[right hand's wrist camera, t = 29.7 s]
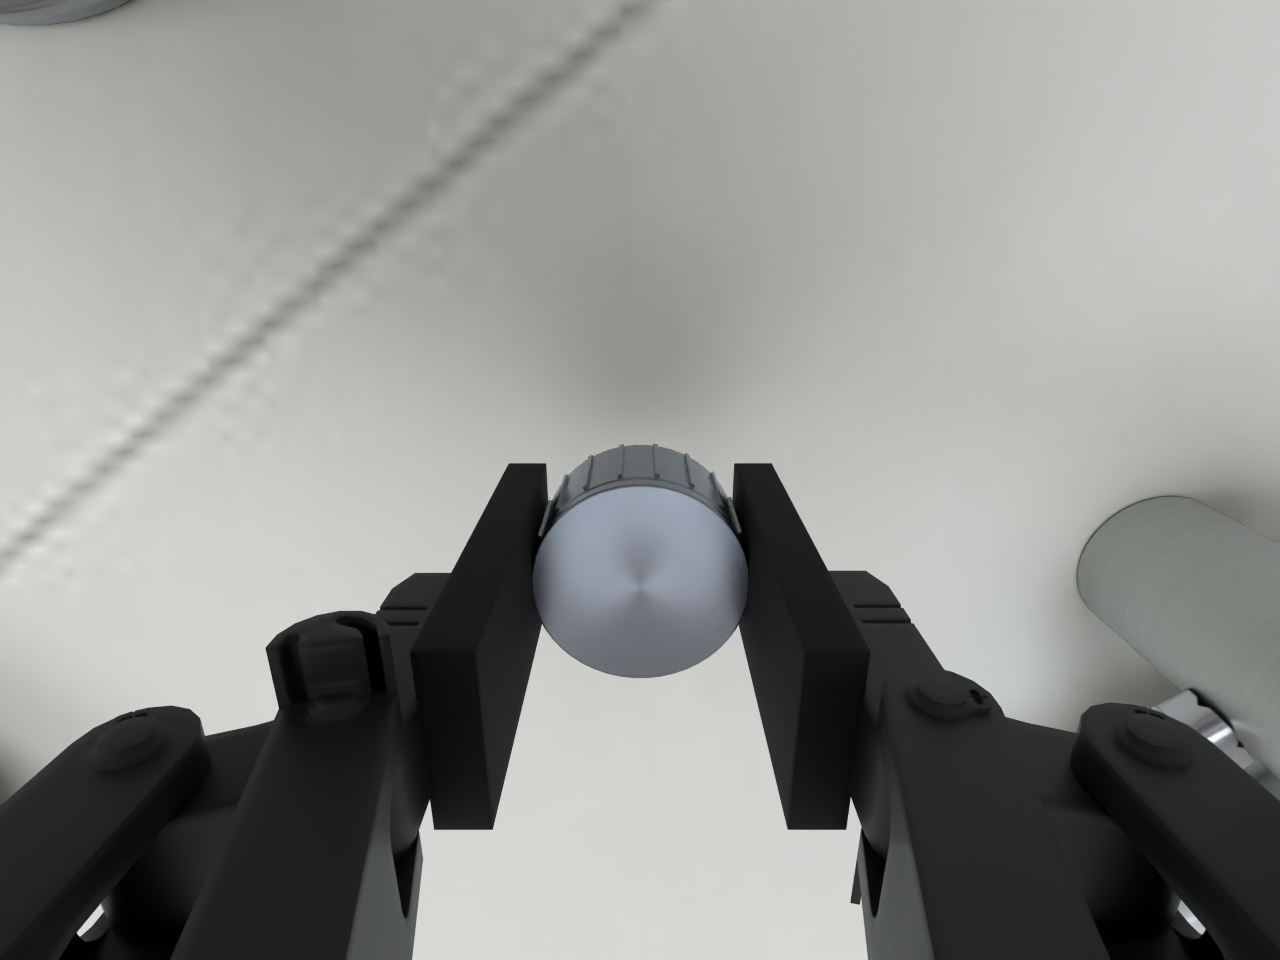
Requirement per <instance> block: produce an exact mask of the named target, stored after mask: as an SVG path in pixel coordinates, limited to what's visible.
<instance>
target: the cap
mask: <svg viewBox="0 0 1280 960" xmlns="http://www.w3.org/2000/svg"><path fill="white" fill-rule="evenodd" d="M741 536H743V533H742V529H741V526H740V523H739V520H738V517H737V514H736V511H735V508H734V505H733V502H732V499H731V497H727V495H726V493H725V492H724V490H723V488H722V486H721V485H720V484H719V482H718V481H717V479H716V476H715V474H714V473H713V472H711V473H710V472H709V471H708V470H707V469H706V468H704V467H703V466H702V465H700V464H699V463H698V462H696V461H695V460H693V459H691V458H690V456H689V454H687V453H685V455H684V454H681V453H679V452H676V451H674V450H671V449H667V448H663V447H658V444H653V446H650V445H631V446H624V444H622V445H620V447H618V448H614V449H610V450H607V451H605V452H602V453H600V454H597V455H595V456H593V455H590V456H589V457H588V460H586V461H585V462H583V463H582V464H581V465H579V466H578V467H577V468H575V469H574V470H573V471H572V472H571V473H570V474H569V475H567V474H566V475H565V476H564V477H563V481H562V484H561V485H560V486H559V488H558V490H557V492H556V493H555V495H554V497H553V500H552V501H551V500H549V501H548V504H547V507H546V510H545V514H544V517H543V520H542V523H541V526H540V529H539V532H538V535H537V539H539V543H538V546H537V549H536V553H535V556H534V560H533V564H532V583H533V598H534V606H535V608H536V611H537V614H538V617H539V619H540V620H541V622H542V624H543V626H544V628H545V629H546V631H547V632H548V633H549V635H550V636H551V638H552V639H553V640H554V641H555V642H556V643H557V644H558V645H559V646H560V647H561V648H562V649H563V650H564V651H565V652H567V653H568V654H569V655H570V656H572V657H573V658H575V659H576V660H578V661H579V662H581V663H583V664H585V665H587V666H589V667H591V668H593V669H596V670H598V671H601V672H604V673H607V674H612V675H616V676H621V677H630V678H651V677H660V676H665V675H669V674H674V673H677V672H680V671H683V670H686V669H688V668H690V667H692V666H694V665H696V664H698V663H700V662H702V661H703V660H705V659H706V658H708V657H710V656H711V655H712V654H713V653H714V652H716V651H717V650H718V649H719V648H720V647H721V646H722V645H723V644H724V643H725V642H726V641H727V640H728V639H729V638H730V636H731V635H732V634H733V632H734V631H735V629H736V628H737V626H738V624H739V622H740V621H741V619H742V617H743V614H744V612H745V609H746V605H747V591H748V574H749V564H748V559H747V555H746V552H745V549H744V546H743V542H742V539H741Z"/></svg>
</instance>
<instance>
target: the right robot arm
mask: <svg viewBox="0 0 1280 960" xmlns="http://www.w3.org/2000/svg"><path fill="white" fill-rule="evenodd" d="M128 1H129V0H0V24H8V25H47V24H55V23H63V22H71V21H75V20H79V19H82V18H86V17H90V16H94V15H98V14H100V13H103V12H105V11H108V10H110V9H113V8H115V7H118V6H120V5H122V4H124V3H126V2H128ZM732 502H733V505H734V508H735V511H736V514H737V517H738V520H739V523H740V526H741V529H742V533H743V536H741V539H742V542H743V546H744V549H745V552H746V555H747V559H748V564H749V574H748V591H747V605H746V609H745V612H744V614H743V617H742V619H741V621H740V622H739V628H740V632H741V636H742V640H743V645H744V649H745V653H746V657H747V661H748V666H749V670H750V674H751V678H752V682H753V686H754V691H755V695H756V699H757V703H758V707H759V711H760V716H761V720H762V724H763V728H764V732H765V736H766V741H767V745H768V749H769V753H770V757H771V761H772V766H773V770H774V774H775V778H776V782H777V786H778V791H779V795H780V799H781V803H782V807H783V812H784V816H785V820H786V824H787V828H788V830H846V827H847V820H848V812H849V805H850V798H852V801H853V804H854V806H855V809H856V812H857V815H858V817H859V820H860V823H861V826H862V828H861V835H860V841H859V848H858V855H857V862H856V868H855V875H854V882H853V888H852V896H851V903H854V904H859V905H860V900H861V898H862V907H863V916H864V925H865V934H866V944H867V953H868V960H1280V801H1279V800H1278V799H1277V798H1276V797H1274V796H1273V795H1272V794H1271V793H1270V792H1269V791H1268V790H1266V789H1265V788H1264V787H1263V786H1262V785H1261V784H1260V783H1258V782H1257V781H1256V780H1255V779H1254V778H1253V777H1252V776H1250V775H1249V774H1248V773H1247V772H1246V771H1245V770H1243V769H1242V768H1241V767H1240V766H1239V765H1238V764H1237V763H1235V762H1234V761H1233V760H1232V759H1231V758H1230V757H1229V756H1227V755H1226V754H1225V753H1224V752H1223V751H1222V750H1220V749H1219V748H1218V747H1217V746H1216V745H1215V744H1214V743H1212V742H1211V741H1210V740H1209V739H1207V738H1206V737H1204V736H1203V735H1201V734H1200V733H1199V732H1197V731H1196V730H1194V729H1193V728H1191V727H1190V726H1189V725H1187V724H1185V723H1182V722H1180V721H1178V720H1176V719H1174V718H1172V717H1170V716H1167V715H1166V714H1164V713H1162V712H1159V711H1156V710H1153V709H1147V708H1146V707H1141V706H1136V705H1130V704H1119V703H1105V704H1100V705H1095V706H1091V707H1090V708H1089V709H1088V710H1087V711H1085V712H1084V713H1083V714H1082V715H1081V718H1080V722H1079V726H1078V729H1077V733H1073V732H1068V731H1063V730H1058V729H1054V728H1049V727H1044V726H1039V725H1034V724H1030V723H1025V722H1022V721H1018V720H1014V719H1011V718H1007V717H1005V716H1004V713H1003V711H1002V709H1001V707H1000V706H999V704H998V703H997V702H996V700H995V699H994V698H993V696H992V695H991V693H989V692H988V691H986V690H985V689H984V688H982V687H981V686H980V685H978V684H977V683H975V682H974V681H972V680H970V679H968V678H965V677H963V676H961V675H958V674H956V673H954V672H951V671H946V670H944V669H943V667H942V666H941V664H940V663H939V661H938V660H937V658H936V657H935V655H934V654H933V652H932V651H931V649H930V648H929V646H928V645H927V643H926V642H925V640H924V639H923V637H922V636H921V634H920V633H919V631H918V630H917V628H916V627H915V625H914V624H911V619H910V618H909V616H908V615H907V613H906V612H905V610H904V609H903V608H901V604H900V603H899V601H898V600H897V598H896V597H895V595H894V594H893V592H892V591H891V589H890V588H889V586H887V585H886V584H884V583H883V582H881V581H880V580H878V579H877V578H875V577H874V576H872V575H871V574H870V573H868V572H867V571H828V570H827V568H826V566H825V564H824V562H823V560H822V558H821V556H820V555H819V553H818V551H817V549H816V547H815V545H814V543H813V541H812V539H811V538H810V536H809V534H808V532H807V530H806V528H805V526H804V524H803V522H802V520H801V519H800V517H799V515H798V513H797V511H796V509H795V507H794V505H793V503H792V501H791V500H790V498H789V496H788V494H787V492H786V490H785V488H784V486H783V484H782V483H781V481H780V479H779V477H778V475H777V473H776V471H775V469H774V467H773V465H772V464H771V463H734V480H733V500H732ZM547 504H548V491H547V472H546V463H509V464H508V466H507V468H506V470H505V472H504V474H503V476H502V478H501V480H500V481H499V483H498V485H497V487H496V489H495V491H494V493H493V495H492V497H491V499H490V500H489V502H488V504H487V506H486V508H485V510H484V512H483V514H482V516H481V518H480V519H479V521H478V523H477V525H476V527H475V529H474V531H473V533H472V535H471V537H470V538H469V540H468V542H467V544H466V546H465V548H464V550H463V552H462V554H461V555H460V557H459V559H458V561H457V563H456V565H455V567H454V569H453V571H452V573H414V574H413V575H412V576H410V577H409V578H407V579H406V580H404V581H403V582H401V583H400V584H398V585H397V586H395V587H394V588H393V589H392V590H391V591H390V593H389V594H388V596H387V597H386V599H385V600H384V602H383V603H382V605H381V606H380V611H377V612H376V614H371V613H367V612H363V611H337V612H332V613H327V614H321V615H317V616H314V617H311V618H309V619H306V620H303V621H301V622H298V623H295V624H294V625H292V626H290V627H289V628H287V629H286V630H284V631H282V632H281V633H279V634H277V635H276V636H275V638H274V639H273V640H272V641H271V642H270V643H269V645H268V646H267V647H266V652H267V657H268V661H269V665H270V670H271V674H272V679H273V683H274V688H275V692H276V697H277V701H278V705H279V710H278V712H277V715H276V717H275V719H274V720H273V721H270V722H266V723H263V724H259V725H255V726H251V727H246V728H241V729H237V730H232V731H227V732H222V733H217V734H213V735H208V736H205V734H204V731H203V727H202V724H201V720H200V718H199V717H198V716H197V715H196V714H195V713H194V712H192V711H191V710H190V709H186V708H181V707H176V706H163V707H152V708H145V709H141V710H136V711H135V712H129V713H126V714H123V715H120V716H118V717H116V718H114V719H112V720H110V721H108V722H106V723H104V724H102V725H99V726H97V727H95V728H93V729H92V730H91V731H89V732H88V733H86V734H85V735H83V736H82V737H81V738H79V739H78V740H76V741H75V742H73V743H72V744H71V745H70V746H68V747H67V748H66V749H65V750H64V751H63V752H62V753H60V754H59V755H58V756H57V757H56V758H55V759H54V760H52V761H51V762H50V763H49V764H48V765H47V766H46V767H45V768H43V769H42V770H41V771H40V772H39V773H38V774H37V775H35V776H34V777H33V778H32V779H31V780H30V781H29V782H27V783H26V784H25V785H24V786H23V787H22V788H21V789H19V790H18V791H17V792H16V793H15V794H14V795H13V796H11V797H10V798H9V799H8V800H7V801H6V802H5V803H3V804H2V805H1V806H0V960H412V954H413V945H414V936H415V927H416V918H417V909H418V899H419V890H420V881H421V872H422V863H423V856H422V848H421V841H420V835H419V828H420V825H421V822H422V819H423V817H424V814H425V811H426V808H427V806H428V803H429V800H430V802H431V809H432V816H433V824H434V830H493V826H494V822H495V818H496V813H497V809H498V805H499V801H500V797H501V793H502V788H503V784H504V780H505V776H506V772H507V768H508V763H509V759H510V755H511V751H512V747H513V742H514V738H515V734H516V730H517V726H518V722H519V717H520V713H521V709H522V705H523V701H524V697H525V692H526V688H527V684H528V680H529V676H530V671H531V667H532V663H533V659H534V655H535V651H536V646H537V642H538V638H539V634H540V630H541V626H542V622H541V620H540V619H539V617H538V614H537V611H536V608H535V606H534V598H533V583H532V564H533V560H534V556H535V553H536V549H537V546H538V543H539V539H537V535H538V532H539V529H540V526H541V523H542V520H543V517H544V514H545V510H546V507H547ZM1181 900H1182V901H1183V903H1184V904H1185V905H1186V906H1187V907H1188V909H1189V910H1190V911H1191V912H1192V913H1193V915H1194V916H1195V917H1196V918H1197V919H1198V920H1199V922H1200V923H1201V924H1202V925H1203V926H1204V928H1205V932H1204V933H1203V934H1200V933H1199V932H1198V931H1197V930H1196V929H1195V928H1193V927H1192V926H1191V925H1190V924H1189V923H1188V921H1187V920H1186V919H1185V918H1184V916H1183V915H1182V914H1181V913H1180V912H1179V910H1178V907H1179V904H1180V902H1181ZM100 904H101V905H102V908H103V911H104V913H103V914H102V915H101V916H100V917H99V919H98V920H97V921H96V922H95V924H94V925H93V926H92V927H91V928H90V929H89V930H87V931H86V932H85V933H84V934H83V935H82V936H81V937H79V936H78V935H77V931H78V930H79V929H80V928H81V926H82V925H83V924H84V923H85V922H86V920H87V919H88V918H89V917H90V916H91V914H92V913H93V912H94V911H95V910H96V908H97V907H98V906H99V905H100Z"/></svg>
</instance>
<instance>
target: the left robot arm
mask: <svg viewBox="0 0 1280 960" xmlns="http://www.w3.org/2000/svg"><path fill="white" fill-rule="evenodd" d="M1150 709H1153V710H1156V711H1159V712H1162V713H1164V714H1166V715H1167V716H1170V717H1172V718H1174V719H1176V720H1178V721H1180V722H1182V723H1185V724H1187V725H1189V726H1190V727H1191V728H1193V729H1194V730H1196V731H1197V732H1199V733H1200V734H1201V735H1203V736H1204V737H1206V738H1207V739H1209V740H1210V741H1211V742H1212V743H1214V744H1215V745H1216V746H1217V747H1218V748H1219V749H1220V750H1222V751H1223V752H1224V753H1225V754H1226V755H1227V756H1229V757H1230V758H1231V759H1232V760H1233V761H1234V762H1235V763H1237V764H1238V765H1239V766H1240V767H1241V768H1242V769H1243V770H1245V771H1246V772H1247V773H1248V774H1249V775H1250V776H1252V777H1253V778H1254V779H1255V780H1256V781H1257V782H1258V783H1260V784H1261V785H1262V786H1263V787H1264V788H1265V789H1266V790H1268V791H1269V792H1270V793H1271V794H1272V795H1273V796H1274V797H1276V798H1277V799H1278V800H1279V801H1280V779H1279V778H1277V777H1276V776H1275V775H1274V774H1273V773H1272V772H1271V771H1270V770H1269V769H1267V768H1266V767H1265V766H1264V765H1263V764H1262V763H1261V762H1260V761H1258V760H1257V759H1256V758H1255V757H1254V756H1253V755H1252V754H1251V753H1250V752H1249V751H1247V750H1246V749H1245V748H1244V747H1243V746H1242V745H1241V744H1240V743H1239V742H1238V738H1237V736H1236V734H1235V733H1234V732H1233V730H1232V729H1231V728H1230V727H1229V726H1228V725H1227V724H1226V723H1225V722H1224V721H1223V720H1222V719H1221V718H1220V717H1219V716H1218V715H1217V714H1216V713H1215V712H1214V711H1213V710H1211V709H1210V708H1208V707H1205V706H1204V705H1203V704H1202V702H1201V701H1200V700H1199V699H1198V697H1197V696H1196V695H1194V694H1193V693H1192V692H1191V691H1190V690H1188V689H1187V688H1185V689H1184V690H1182V691H1180V692H1178V693H1177V694H1175V695H1173V696H1172V697H1170V698H1168V699H1167V700H1165V701H1163V702H1162V703H1160V704H1158V705H1156V706H1154V707H1152V708H1150ZM1178 910H1179V912H1180V913H1181V914H1182V915H1183V916H1184V918H1185V919H1186V920H1187V921H1188V923H1189V924H1190V925H1191V926H1192V927H1193V928H1195V929H1196V930H1197V931H1198V932H1199V933H1200V934H1203V933H1204V932H1205V928H1204V926H1203V925H1202V924H1201V923H1200V922H1199V920H1198V919H1197V918H1196V917H1195V916H1194V915H1193V913H1192V912H1191V911H1190V910H1189V909H1188V907H1187V906H1186V905H1185V904H1184V903H1183V901H1182V900H1181V902H1180V904H1179V907H1178Z"/></svg>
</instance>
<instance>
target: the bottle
mask: <svg viewBox="0 0 1280 960" xmlns="http://www.w3.org/2000/svg"><path fill="white" fill-rule="evenodd" d="M1077 581H1078V588H1079V591H1080V595H1081V597H1082V599H1083V601H1084V603H1085V604H1086V605H1087V607H1088V608H1089V609H1090V610H1091V611H1092V612H1093V613H1094V614H1095V615H1096V616H1098V617H1099V618H1100V619H1101V620H1102V621H1103V622H1104V623H1105V624H1107V625H1108V626H1109V627H1110V628H1111V629H1112V630H1113V631H1114V632H1115V633H1117V634H1118V635H1119V636H1120V637H1121V638H1122V639H1123V640H1124V641H1126V642H1127V643H1128V644H1129V645H1130V646H1131V647H1132V648H1133V649H1134V650H1136V651H1137V652H1138V653H1139V654H1140V655H1141V656H1142V657H1143V658H1145V659H1146V660H1147V661H1148V662H1149V663H1150V664H1151V665H1152V666H1153V667H1155V668H1156V669H1157V670H1158V671H1159V672H1160V673H1161V674H1162V675H1164V676H1165V677H1166V678H1167V679H1168V680H1169V681H1170V682H1171V683H1172V684H1174V685H1175V686H1176V687H1177V688H1178V689H1179V690H1180V691H1182V690H1184V689H1185V688H1187V689H1188V690H1190V691H1191V692H1192V693H1193V694H1194V695H1196V696H1197V697H1198V699H1199V700H1200V701H1201V702H1202V704H1203V705H1204V706H1205V707H1208V708H1210V709H1211V710H1213V711H1214V712H1215V713H1216V714H1217V715H1218V716H1219V717H1220V718H1221V719H1222V720H1223V721H1224V722H1225V723H1226V724H1227V725H1228V726H1229V727H1230V728H1231V729H1232V730H1233V732H1234V733H1235V734H1236V736H1237V738H1238V742H1239V743H1240V744H1241V745H1242V746H1243V747H1244V748H1245V749H1246V750H1247V751H1249V752H1250V753H1251V754H1252V755H1253V756H1254V757H1255V758H1256V759H1257V760H1258V761H1260V762H1261V763H1262V764H1263V765H1264V766H1265V767H1266V768H1267V769H1269V770H1270V771H1271V772H1272V773H1273V774H1274V775H1275V776H1276V777H1277V778H1279V779H1280V544H1279V543H1277V542H1275V541H1273V540H1271V539H1269V538H1268V537H1266V536H1264V535H1262V534H1260V533H1258V532H1256V531H1254V530H1252V529H1251V528H1249V527H1247V526H1245V525H1243V524H1241V523H1239V522H1237V521H1235V520H1233V519H1232V518H1230V517H1228V516H1226V515H1224V514H1222V513H1220V512H1218V511H1216V510H1215V509H1213V508H1211V507H1209V506H1207V505H1205V504H1203V503H1201V502H1199V501H1196V500H1193V499H1190V498H1184V497H1172V496H1170V497H1159V498H1153V499H1149V500H1145V501H1142V502H1139V503H1137V504H1134V505H1132V506H1130V507H1128V508H1126V509H1124V510H1122V511H1120V512H1119V513H1117V514H1116V515H1114V516H1113V517H1112V518H1110V519H1109V520H1108V521H1107V522H1105V523H1104V524H1103V525H1102V526H1101V527H1100V528H1099V529H1098V530H1097V531H1096V533H1095V534H1094V535H1093V536H1092V538H1091V539H1090V541H1089V542H1088V544H1087V545H1086V547H1085V549H1084V551H1083V553H1082V556H1081V559H1080V562H1079V566H1078V572H1077Z"/></svg>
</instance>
